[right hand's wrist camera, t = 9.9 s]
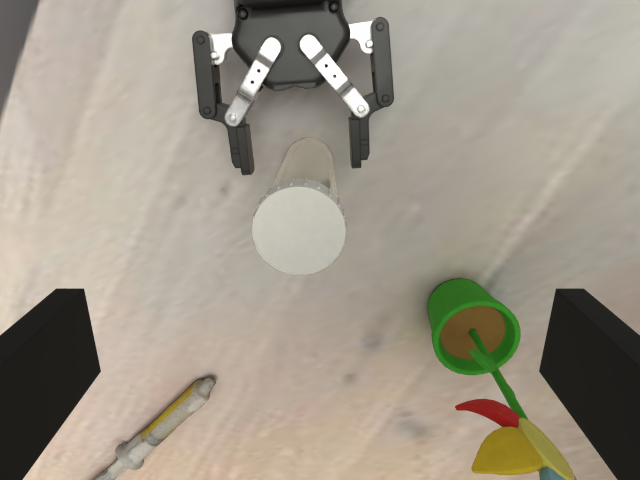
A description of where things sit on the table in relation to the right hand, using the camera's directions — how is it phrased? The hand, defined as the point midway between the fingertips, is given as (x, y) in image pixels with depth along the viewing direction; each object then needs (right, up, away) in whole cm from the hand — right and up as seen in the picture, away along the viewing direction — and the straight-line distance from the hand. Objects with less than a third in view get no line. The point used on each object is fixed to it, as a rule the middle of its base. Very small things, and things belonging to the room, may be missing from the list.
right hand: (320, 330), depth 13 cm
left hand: (-1, +8, +23) cm, 25 cm away
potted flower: (+14, -4, +35) cm, 38 cm away
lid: (-1, +3, +11) cm, 12 cm away
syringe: (-21, -21, +41) cm, 51 cm away
